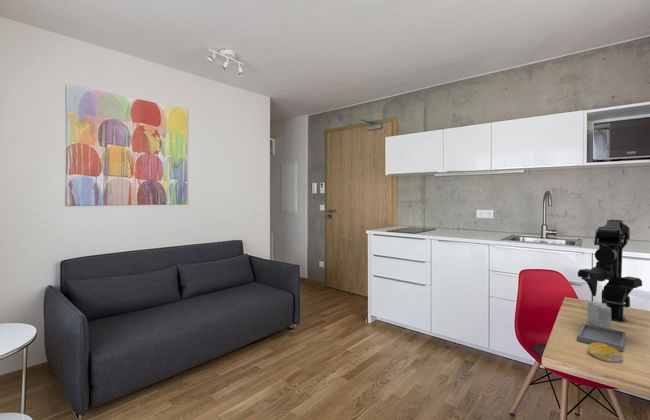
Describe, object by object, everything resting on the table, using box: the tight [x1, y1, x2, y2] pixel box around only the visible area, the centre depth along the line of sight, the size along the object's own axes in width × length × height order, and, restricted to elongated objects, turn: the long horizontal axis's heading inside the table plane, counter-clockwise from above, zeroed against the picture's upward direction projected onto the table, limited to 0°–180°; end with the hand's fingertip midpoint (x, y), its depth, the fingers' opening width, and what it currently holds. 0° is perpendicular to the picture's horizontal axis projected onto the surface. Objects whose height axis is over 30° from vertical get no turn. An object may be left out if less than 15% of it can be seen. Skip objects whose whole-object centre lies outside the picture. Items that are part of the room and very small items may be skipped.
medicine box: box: [587, 301, 612, 329], centre depth 136 cm, size 8×4×9 cm, turn 168°
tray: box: [576, 323, 626, 353], centre depth 122 cm, size 18×13×2 cm
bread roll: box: [586, 343, 624, 363], centre depth 109 cm, size 8×9×4 cm
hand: (607, 299), depth 127 cm, fingers open, 9 cm apart
